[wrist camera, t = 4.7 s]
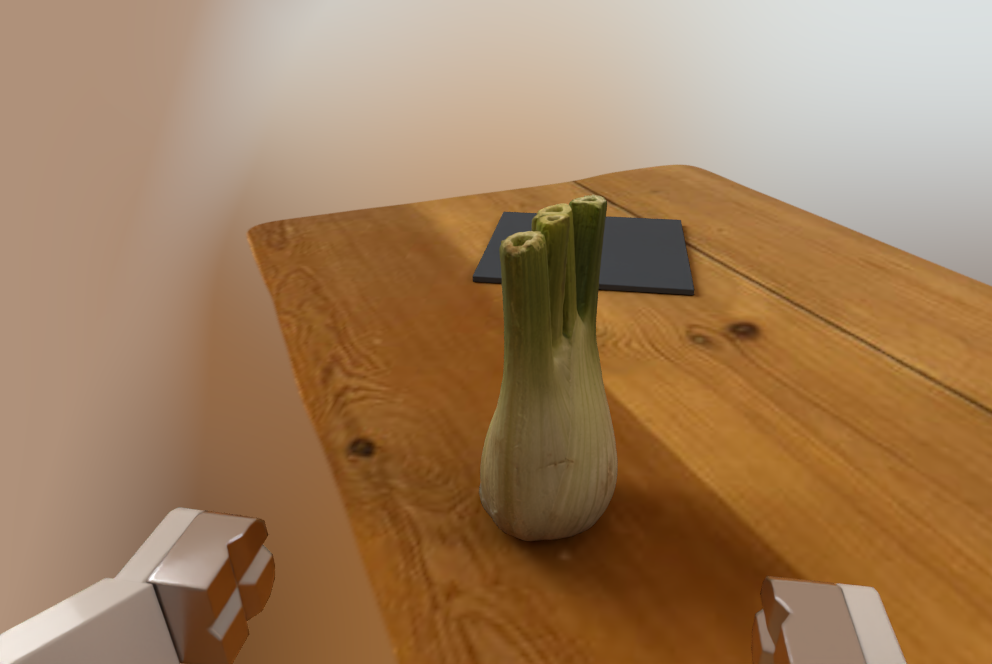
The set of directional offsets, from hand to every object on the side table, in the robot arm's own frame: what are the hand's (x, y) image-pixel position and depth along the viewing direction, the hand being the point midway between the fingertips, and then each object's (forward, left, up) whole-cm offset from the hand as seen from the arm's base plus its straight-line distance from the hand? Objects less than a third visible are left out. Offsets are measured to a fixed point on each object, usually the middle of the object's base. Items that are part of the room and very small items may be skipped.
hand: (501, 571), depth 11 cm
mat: (0, +39, -10) cm, 40 cm away
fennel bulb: (0, +12, -10) cm, 16 cm away
